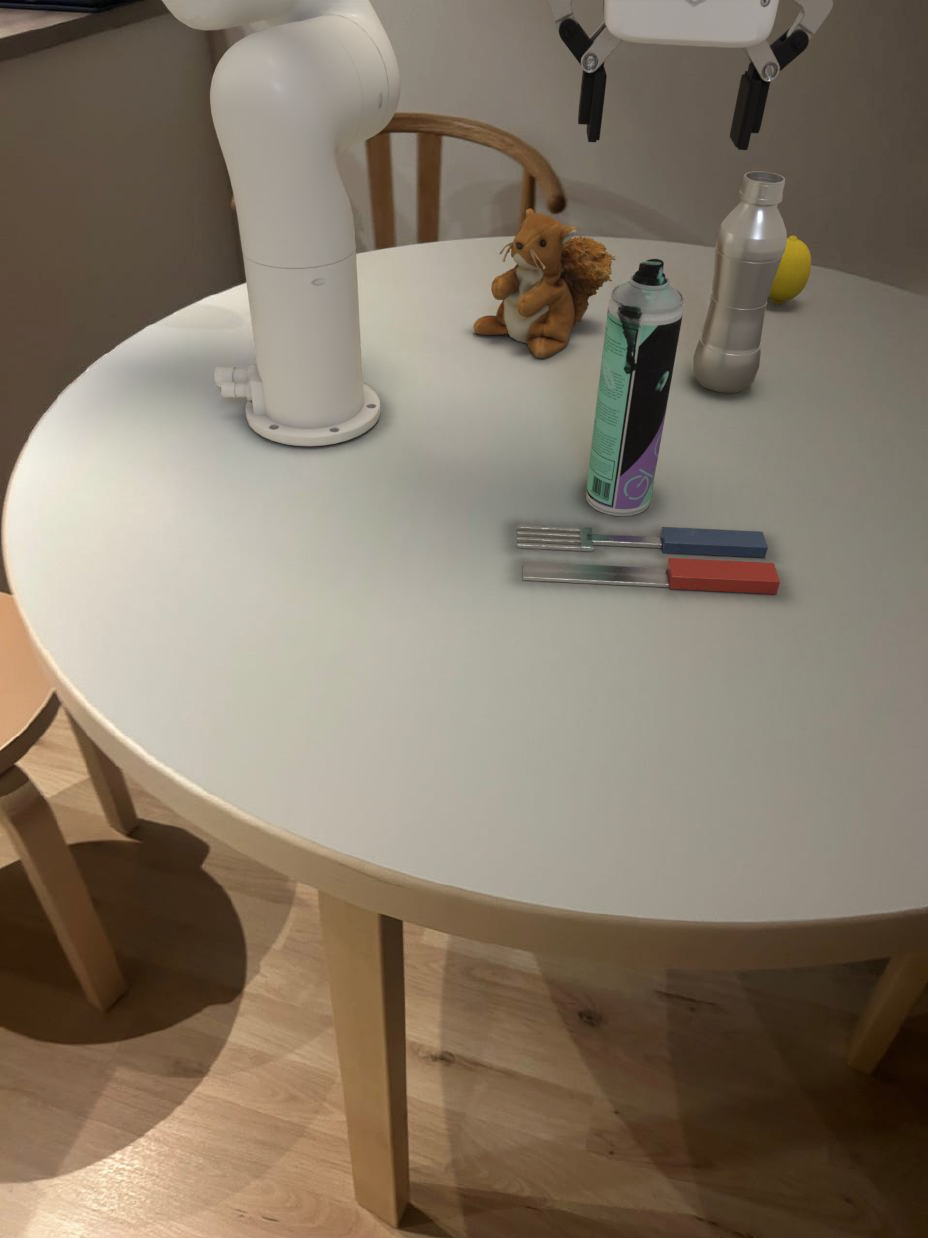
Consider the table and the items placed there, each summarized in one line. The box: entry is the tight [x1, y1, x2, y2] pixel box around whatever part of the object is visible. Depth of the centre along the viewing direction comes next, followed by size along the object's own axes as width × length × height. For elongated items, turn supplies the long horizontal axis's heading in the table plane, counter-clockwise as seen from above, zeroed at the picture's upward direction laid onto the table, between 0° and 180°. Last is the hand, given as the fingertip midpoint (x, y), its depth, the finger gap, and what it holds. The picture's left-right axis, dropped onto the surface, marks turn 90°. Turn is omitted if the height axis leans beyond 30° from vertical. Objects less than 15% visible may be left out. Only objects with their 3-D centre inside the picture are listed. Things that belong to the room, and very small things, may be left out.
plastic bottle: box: [692, 170, 788, 393], centre depth 91 cm, size 6×7×20 cm
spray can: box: [585, 258, 685, 517], centre depth 75 cm, size 6×6×20 cm
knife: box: [522, 557, 781, 595], centre depth 72 cm, size 19×2×1 cm, turn 87°
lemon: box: [768, 235, 812, 305], centre depth 112 cm, size 6×6×8 cm
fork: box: [516, 524, 768, 559], centre depth 76 cm, size 20×3×1 cm, turn 87°
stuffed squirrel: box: [473, 208, 617, 359], centre depth 102 cm, size 10×14×13 cm
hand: (665, 140), depth 63 cm, fingers open, 9 cm apart
